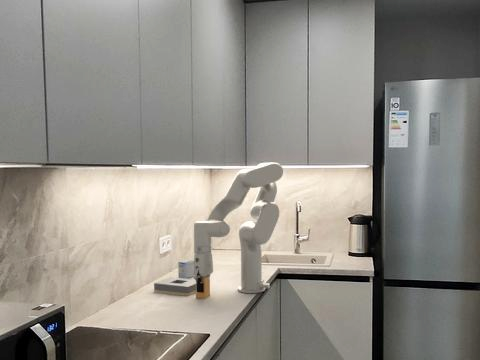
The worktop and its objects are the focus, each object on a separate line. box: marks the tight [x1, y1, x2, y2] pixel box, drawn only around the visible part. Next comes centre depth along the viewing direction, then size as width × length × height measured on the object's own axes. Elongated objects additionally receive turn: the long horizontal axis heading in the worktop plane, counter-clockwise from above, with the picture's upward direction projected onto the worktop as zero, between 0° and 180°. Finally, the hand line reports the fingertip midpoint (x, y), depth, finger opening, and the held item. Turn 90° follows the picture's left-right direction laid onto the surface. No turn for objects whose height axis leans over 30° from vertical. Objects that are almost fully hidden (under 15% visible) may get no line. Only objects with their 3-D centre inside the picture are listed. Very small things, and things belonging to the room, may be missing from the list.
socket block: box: [153, 276, 196, 296], centre depth 224 cm, size 18×14×4 cm
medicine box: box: [177, 259, 194, 279], centre depth 252 cm, size 8×4×9 cm, turn 149°
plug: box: [195, 274, 211, 299], centre depth 212 cm, size 4×4×10 cm
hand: (203, 290), depth 212 cm, fingers closed on plug, 4 cm apart
